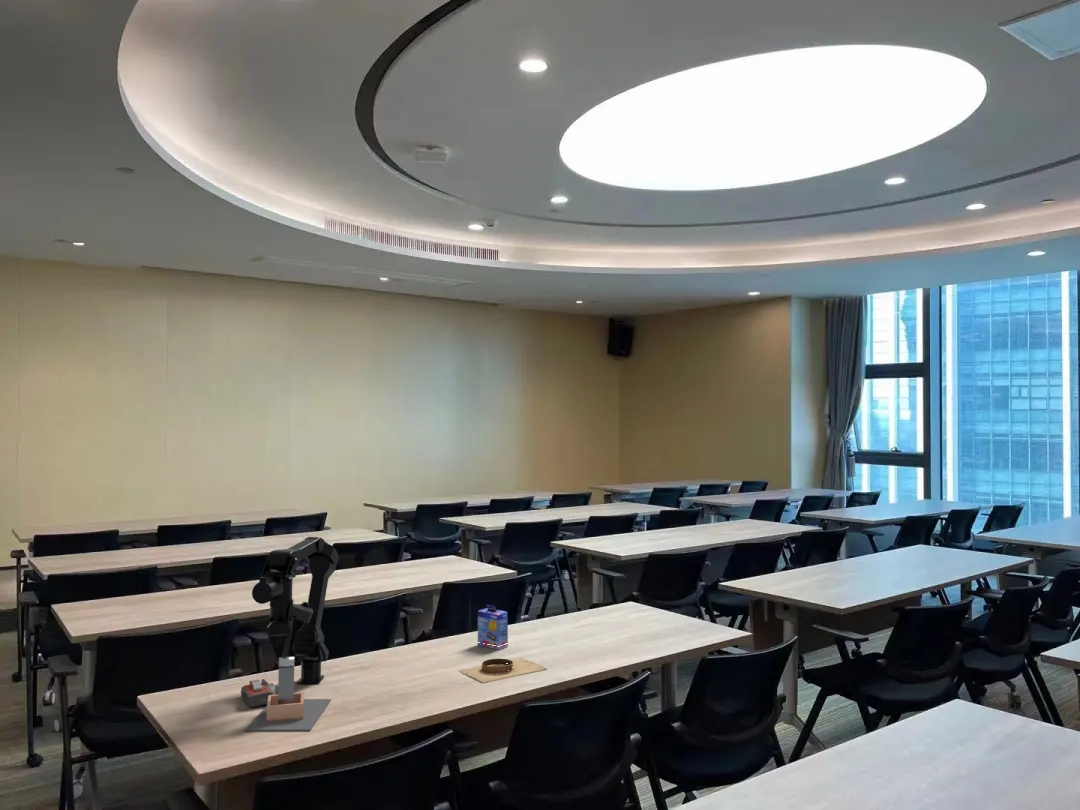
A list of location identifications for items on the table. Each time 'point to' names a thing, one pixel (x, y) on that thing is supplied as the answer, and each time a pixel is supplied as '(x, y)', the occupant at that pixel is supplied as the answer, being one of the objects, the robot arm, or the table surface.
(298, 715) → the open box
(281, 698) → the grey block
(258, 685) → the grey red device
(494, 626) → the ink cartridge box
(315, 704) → the mat
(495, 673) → the board
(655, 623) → the table surface
